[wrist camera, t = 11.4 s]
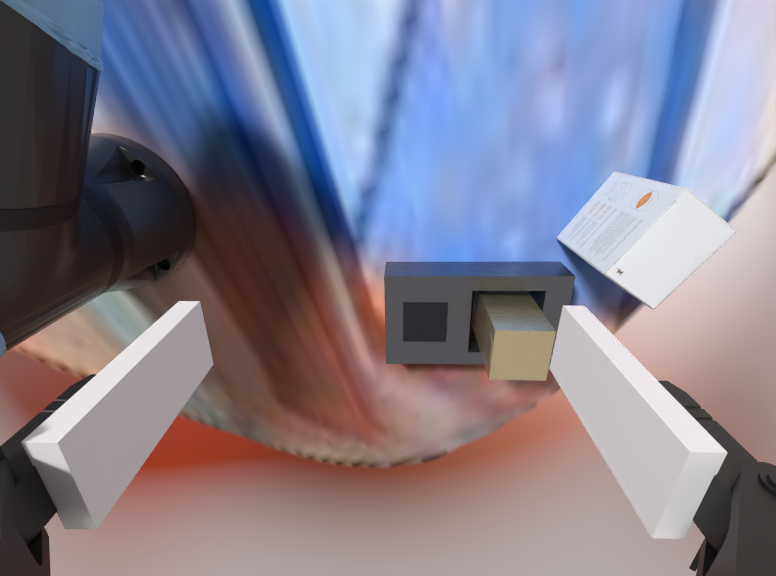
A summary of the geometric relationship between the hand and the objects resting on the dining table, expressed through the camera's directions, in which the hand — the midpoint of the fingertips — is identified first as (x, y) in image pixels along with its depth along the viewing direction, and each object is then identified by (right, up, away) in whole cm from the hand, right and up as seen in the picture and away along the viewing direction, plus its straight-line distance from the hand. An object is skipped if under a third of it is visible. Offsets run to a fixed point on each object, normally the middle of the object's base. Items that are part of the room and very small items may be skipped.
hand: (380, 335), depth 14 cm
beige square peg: (+12, 0, +28) cm, 31 cm away
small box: (+22, +9, +24) cm, 34 cm away
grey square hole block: (+9, 0, +28) cm, 30 cm away
